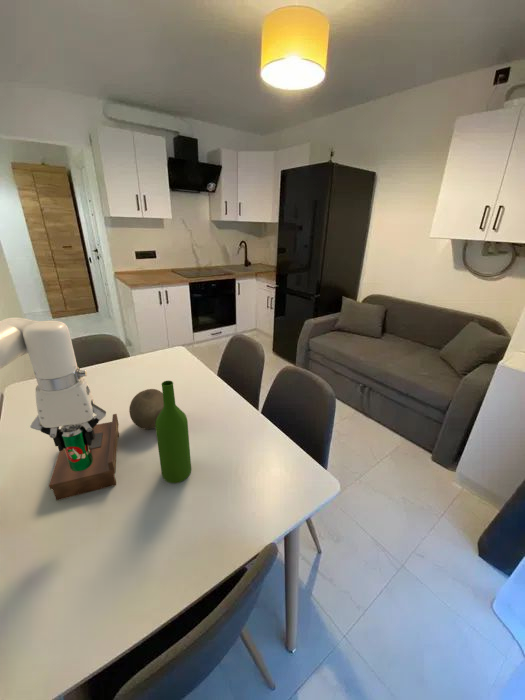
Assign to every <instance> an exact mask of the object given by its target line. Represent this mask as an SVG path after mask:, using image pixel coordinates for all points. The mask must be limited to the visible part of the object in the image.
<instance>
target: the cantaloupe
mask: <svg viewBox="0 0 525 700" xmlns="http://www.w3.org/2000/svg"><path fill="white" fill-rule="evenodd" d="M163 407H164V402H163V392H162V391H160V390H159V389H157V388H148V389H144V390H141V391H139V392H138V393H136V395H134V396H133V398H132V400H131V401H130V405H129V411H128V412H129V417H130V419H131V421H132V422H133V424H134V425H135V426H136V427H137V428H139V429H141V430H142V429H143V430H152V429H156V428H155V424H156V419H157V417H158V415H159V414H160V412H161V411H162V409H163Z"/></svg>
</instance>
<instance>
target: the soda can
mask: <svg viewBox="0 0 525 700" xmlns="http://www.w3.org/2000/svg"><path fill="white" fill-rule="evenodd" d="M60 429H61V432H60V436H61V439H62V443H63V446H64V450H65V453H66V456H67V460H68V463H69V467H70V469H71V470H72V471H76V472H79V471H83V470H86V469H87V468H89V467H90V466H91V464H92V463H93V456H92V452H91V448H90V446H88V445H87V441H86V437H85V428H84V426H83V425H82V424H81V423H77V424H71V425H65V426H61V427H60Z"/></svg>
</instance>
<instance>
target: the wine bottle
mask: <svg viewBox="0 0 525 700" xmlns="http://www.w3.org/2000/svg"><path fill="white" fill-rule="evenodd" d="M161 390H162V391H161V392H162V393H163V402H164V407H163V409H162V411H161V412H160V414H159V415H158V417H157V419H156V424H155V428H154V429H155V435H156V441H157V449H158V455H159V456H158V457H159V463H160V470H161V476H162V479H163V480H164V482H167V483H170V484H177V483H178V484H179V483H181V482H184V481H185V480H187V479H188V477H189V476H190V475H191V472H192V461H191V460H192V459H191V449H190V437H189V436H190V435H189V425H188V424H189V423H188V422H189V421H188V418H187V415H186V413H185V412H184V411H183V410H182V409H180V408H179V406H177V404H176V396H175V388H174V382H173V381H172V380H164V381H162V382H161Z"/></svg>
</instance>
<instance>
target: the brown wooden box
mask: <svg viewBox="0 0 525 700" xmlns="http://www.w3.org/2000/svg"><path fill="white" fill-rule="evenodd" d="M111 419H112V420H111V421H109V422H103V423H97V425H96V426H95V427H94V428H93V430H94V434H95V439H94V440H92V443H91V445H90V448H91V452H92V456H93V463H92V464H91V466H90V467H89V468H87V469H86V470H83V471H79V472H76V471H72V470H71V469H70V467H69V463H68V460H67V456H66V453H65V450H64V449H63V450H62V451H59V450H58V455H57V459H56V461H55V464H54V466H53V467H54V468H53V470H52V474H51V477H50V480H49V483H48V487H49V490H52V492H53V495H54V498H55V501H60V500H64V499H68V498H72V497H75V496H79V495H85V494H87V493H91V492H95V491H100V490H102V489H107V488H110V487H114V486H117V480H116V475H115V474H116V465H117V454H118V453H117V451H118V438H119V437H120V431H119V425H120V424H119V418H118V414H117V413H113V414H112V418H111Z"/></svg>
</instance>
